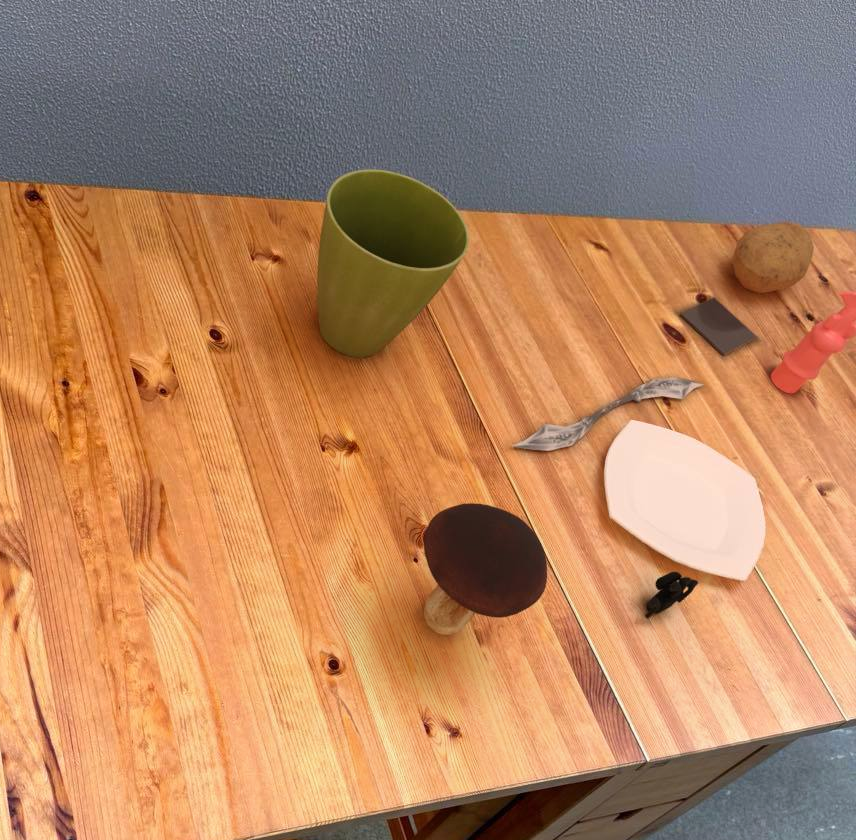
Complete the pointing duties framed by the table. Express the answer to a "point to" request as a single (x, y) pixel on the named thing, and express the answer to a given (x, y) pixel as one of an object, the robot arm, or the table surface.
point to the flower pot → (382, 257)
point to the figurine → (816, 347)
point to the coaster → (718, 326)
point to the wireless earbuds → (669, 592)
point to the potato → (773, 256)
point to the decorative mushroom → (481, 566)
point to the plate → (684, 500)
